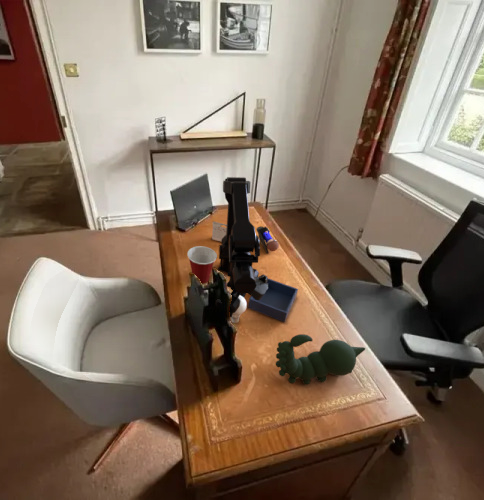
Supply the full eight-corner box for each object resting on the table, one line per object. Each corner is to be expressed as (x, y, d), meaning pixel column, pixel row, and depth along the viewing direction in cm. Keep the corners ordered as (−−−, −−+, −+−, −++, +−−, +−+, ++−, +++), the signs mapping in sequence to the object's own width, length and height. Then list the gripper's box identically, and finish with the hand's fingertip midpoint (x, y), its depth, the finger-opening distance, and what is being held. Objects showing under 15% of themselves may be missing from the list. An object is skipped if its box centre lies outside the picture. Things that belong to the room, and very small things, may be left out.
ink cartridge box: (213, 236, 145) (214, 218, 139) (236, 242, 141) (238, 224, 136) (211, 239, 143) (212, 221, 137) (234, 245, 139) (236, 227, 134)
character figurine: (267, 236, 147) (277, 256, 135) (252, 236, 145) (261, 256, 134) (270, 222, 142) (282, 241, 131) (255, 222, 141) (265, 241, 129)
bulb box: (248, 307, 110) (249, 298, 107) (261, 285, 119) (263, 276, 117) (284, 322, 105) (286, 313, 102) (295, 297, 114) (298, 288, 112)
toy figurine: (281, 398, 85) (367, 380, 88) (287, 356, 74) (385, 337, 77) (270, 367, 93) (350, 352, 96) (274, 325, 82) (364, 309, 84)
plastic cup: (218, 286, 118) (220, 261, 111) (189, 290, 116) (189, 264, 109) (212, 268, 126) (213, 243, 119) (186, 271, 124) (185, 246, 117)
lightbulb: (224, 314, 107) (226, 290, 100) (242, 313, 107) (245, 290, 101) (226, 329, 102) (228, 305, 95) (245, 328, 102) (249, 304, 96)
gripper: (253, 299, 81) (248, 338, 91) (277, 260, 95) (270, 298, 104) (215, 284, 85) (213, 323, 95) (243, 249, 99) (239, 286, 108)
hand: (236, 307), depth 100 cm, fingers open, 9 cm apart
